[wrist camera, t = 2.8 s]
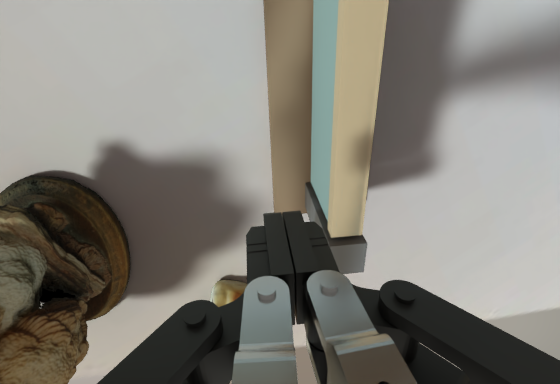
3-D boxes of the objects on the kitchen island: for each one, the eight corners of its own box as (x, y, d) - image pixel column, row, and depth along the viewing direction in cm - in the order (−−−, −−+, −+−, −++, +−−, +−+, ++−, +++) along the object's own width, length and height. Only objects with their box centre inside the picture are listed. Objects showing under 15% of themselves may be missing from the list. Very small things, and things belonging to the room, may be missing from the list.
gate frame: (383, -77, 20) (492, -158, 11) (356, 203, 30) (402, 276, 21) (259, -75, 19) (272, -159, 11) (274, 210, 29) (286, 288, 21)
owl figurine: (-37, 154, 24) (-491, 358, 9) (122, 167, 26) (-39, 353, 11) (19, 315, 32) (-174, 562, 17) (137, 315, 34) (57, 539, 19)
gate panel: (340, -13, 20) (392, -35, 13) (331, 180, 27) (361, 234, 20) (310, -12, 20) (346, -33, 13) (308, 181, 27) (331, 237, 20)
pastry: (297, 286, 35) (302, 314, 31) (279, 325, 38) (283, 355, 34) (214, 273, 33) (210, 301, 29) (202, 316, 35) (198, 346, 32)
